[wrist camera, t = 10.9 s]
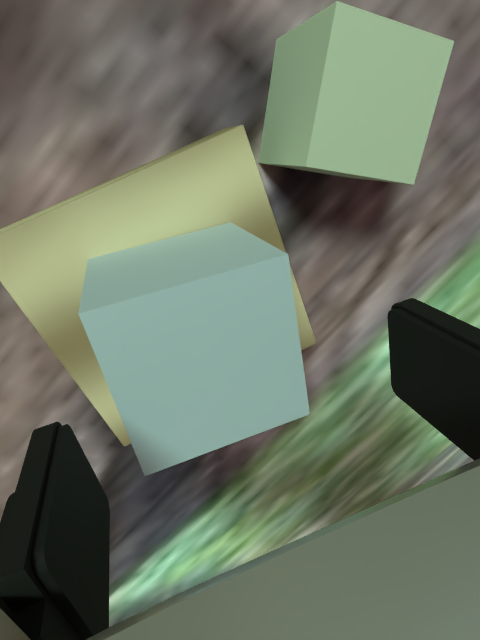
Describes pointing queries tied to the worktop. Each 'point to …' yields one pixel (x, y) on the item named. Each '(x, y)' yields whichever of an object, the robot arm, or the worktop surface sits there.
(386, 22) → the sage block
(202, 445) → the blue cube
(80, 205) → the maple slab
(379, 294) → the worktop surface
